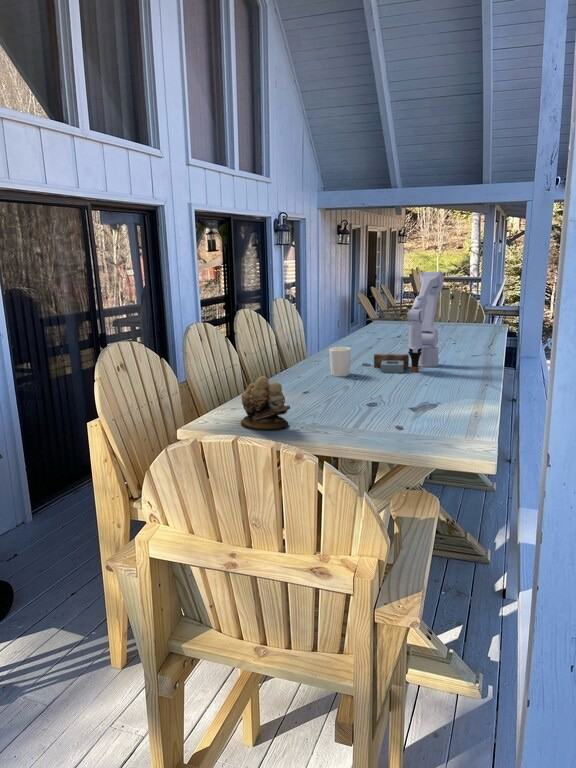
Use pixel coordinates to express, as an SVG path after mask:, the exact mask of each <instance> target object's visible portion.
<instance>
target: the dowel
mask: <svg viewBox="0 0 576 768" xmlns="http://www.w3.org/2000/svg"><path fill="white" fill-rule="evenodd" d="M410 361H411V360H410ZM410 366H411V367H410V372H411V373H414V374H415V373H416V374H417V373H419V371H420V370H419V369H420V368H419V362H418V366H417V367H412V361H411V365H410Z"/></svg>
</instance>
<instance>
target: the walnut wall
mask: <svg viewBox="0 0 576 768" xmlns="http://www.w3.org/2000/svg"><path fill="white" fill-rule="evenodd" d="M409 358H410V355H409V353H406V354H405V353H401V354H400V353H394V354H393V353H374V354H373V368H374V367H378V369H379V368H380V369H381V362H382V360H404V369H409V367H410V366H409V365H410V364H409V363H410V362H409Z"/></svg>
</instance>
